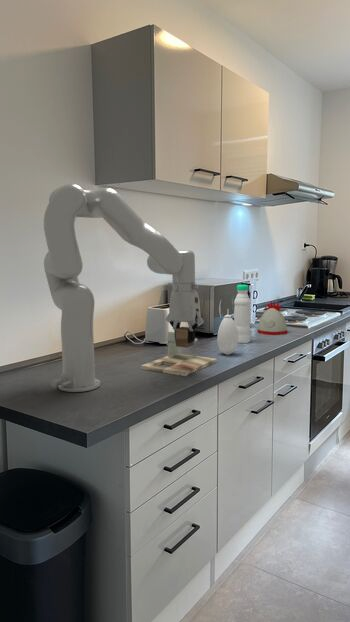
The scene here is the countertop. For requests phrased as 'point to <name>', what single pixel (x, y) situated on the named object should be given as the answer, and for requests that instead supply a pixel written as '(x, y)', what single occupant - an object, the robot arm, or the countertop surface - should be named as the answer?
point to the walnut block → (182, 337)
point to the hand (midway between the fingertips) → (184, 340)
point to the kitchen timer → (272, 321)
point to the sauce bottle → (227, 335)
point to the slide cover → (173, 345)
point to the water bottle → (242, 314)
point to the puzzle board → (179, 364)
